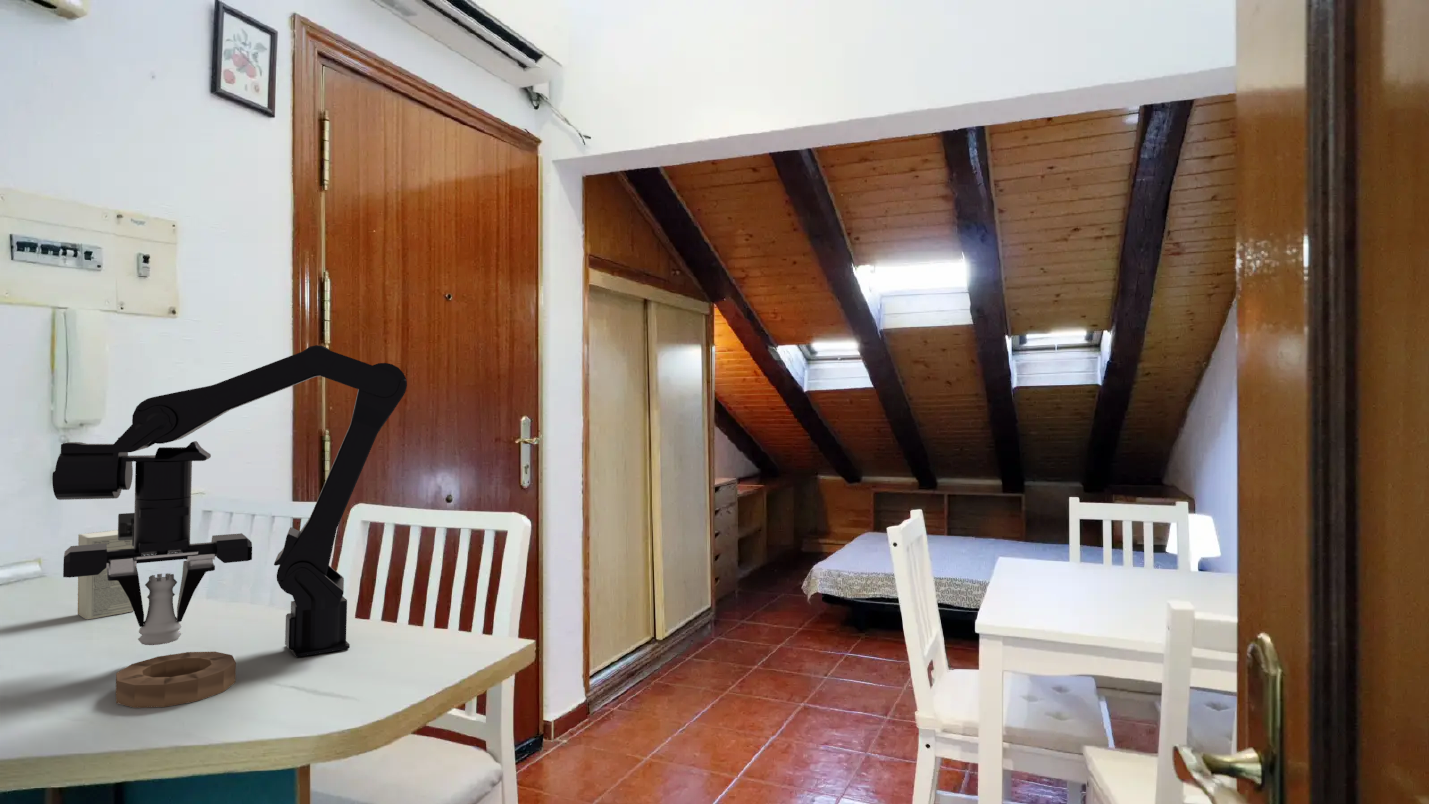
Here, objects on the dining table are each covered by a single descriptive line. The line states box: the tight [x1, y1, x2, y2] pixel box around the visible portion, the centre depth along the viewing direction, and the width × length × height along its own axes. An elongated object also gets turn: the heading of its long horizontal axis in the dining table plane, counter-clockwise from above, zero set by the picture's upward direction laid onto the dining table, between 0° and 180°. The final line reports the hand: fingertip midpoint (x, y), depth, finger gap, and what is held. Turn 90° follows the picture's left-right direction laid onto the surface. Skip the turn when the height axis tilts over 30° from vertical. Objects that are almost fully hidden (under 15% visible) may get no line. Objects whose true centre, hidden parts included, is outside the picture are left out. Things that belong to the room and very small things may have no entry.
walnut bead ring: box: [115, 651, 237, 709], centre depth 89 cm, size 11×11×2 cm
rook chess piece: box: [137, 573, 183, 646], centre depth 97 cm, size 4×4×8 cm
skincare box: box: [77, 529, 134, 620], centre depth 117 cm, size 6×4×12 cm
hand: (160, 623), depth 97 cm, fingers closed on rook chess piece, 3 cm apart
